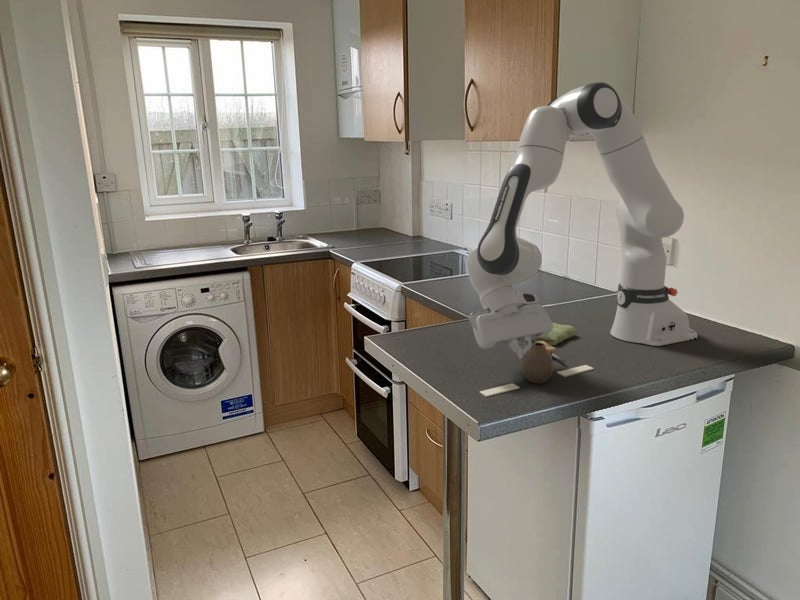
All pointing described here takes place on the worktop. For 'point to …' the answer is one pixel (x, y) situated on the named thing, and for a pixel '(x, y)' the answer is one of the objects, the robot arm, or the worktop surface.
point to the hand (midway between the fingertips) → (526, 357)
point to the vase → (537, 364)
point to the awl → (551, 351)
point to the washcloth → (557, 334)
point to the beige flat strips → (513, 387)
